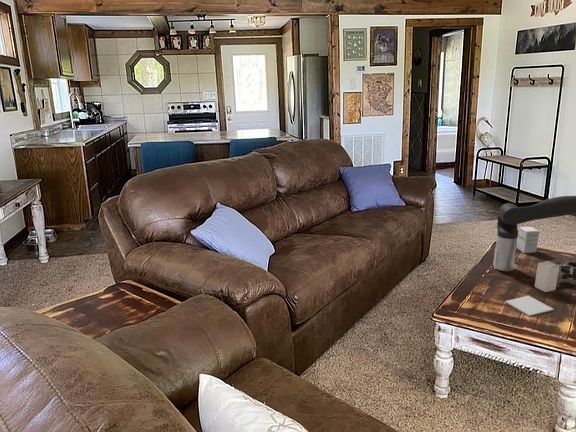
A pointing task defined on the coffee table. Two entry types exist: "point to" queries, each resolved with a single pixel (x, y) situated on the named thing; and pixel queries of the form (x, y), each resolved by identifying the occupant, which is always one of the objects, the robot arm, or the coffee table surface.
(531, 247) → the supplement box
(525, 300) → the grey mat
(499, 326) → the coffee table surface
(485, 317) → the coffee table surface
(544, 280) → the cream box
